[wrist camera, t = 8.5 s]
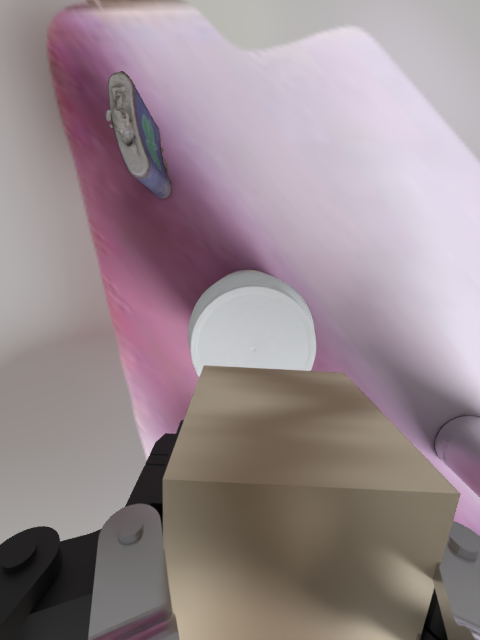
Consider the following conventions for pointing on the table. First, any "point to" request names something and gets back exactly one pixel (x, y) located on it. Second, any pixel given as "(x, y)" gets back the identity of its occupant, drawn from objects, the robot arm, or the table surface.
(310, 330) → the supplement tub
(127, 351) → the table surface
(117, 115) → the flask
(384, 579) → the beech cube
